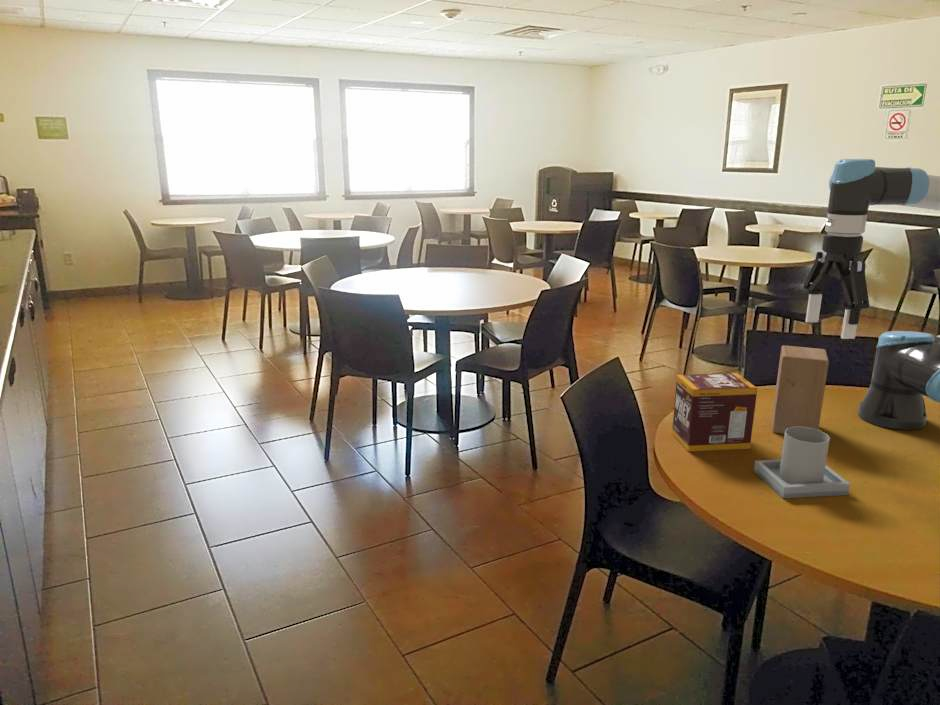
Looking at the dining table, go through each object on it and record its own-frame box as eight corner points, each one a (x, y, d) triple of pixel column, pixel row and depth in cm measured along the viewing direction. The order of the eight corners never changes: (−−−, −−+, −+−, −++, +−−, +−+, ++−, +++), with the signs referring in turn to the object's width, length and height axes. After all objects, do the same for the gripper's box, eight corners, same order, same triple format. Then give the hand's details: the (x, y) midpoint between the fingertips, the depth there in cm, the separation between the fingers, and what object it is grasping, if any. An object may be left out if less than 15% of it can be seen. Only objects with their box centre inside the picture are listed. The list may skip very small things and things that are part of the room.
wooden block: (772, 433, 170) (782, 355, 164) (771, 418, 179) (781, 344, 173) (817, 439, 166) (829, 360, 160) (814, 423, 175) (826, 348, 169)
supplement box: (670, 433, 170) (676, 374, 165) (731, 431, 171) (737, 372, 166) (686, 452, 160) (692, 389, 155) (750, 449, 161) (758, 386, 157)
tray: (814, 467, 152) (816, 457, 151) (848, 494, 140) (850, 483, 140) (753, 471, 151) (755, 460, 150) (782, 498, 139) (784, 487, 139)
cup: (827, 489, 141) (834, 444, 138) (784, 485, 142) (791, 441, 139) (815, 470, 149) (822, 427, 146) (775, 467, 150) (781, 425, 147)
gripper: (795, 226, 158) (783, 316, 165) (864, 242, 135) (847, 346, 141) (826, 226, 159) (813, 315, 165) (900, 242, 135) (881, 345, 142)
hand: (828, 329), depth 153 cm, fingers open, 13 cm apart
